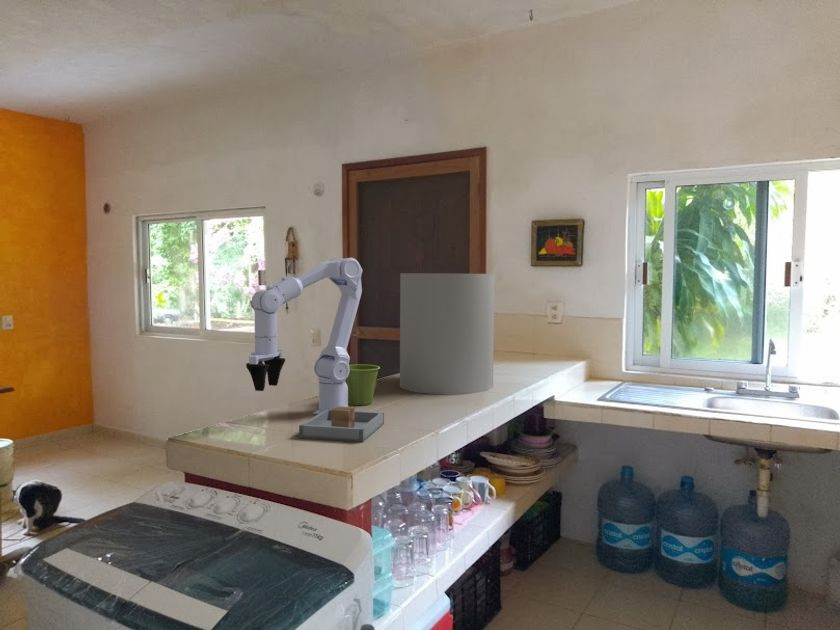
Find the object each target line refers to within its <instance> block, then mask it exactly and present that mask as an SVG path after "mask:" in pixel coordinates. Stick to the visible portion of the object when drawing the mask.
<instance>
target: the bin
mask: <svg viewBox="0 0 840 630" xmlns="http://www.w3.org/2000/svg"><path fill="white" fill-rule="evenodd" d="M384 424H385V412H380V411H363V410H362V411H361V410H355V426H354V427H353V428H348V427H333V426H331V410H330V409H326V410H325V411H323V412H321V413H320V414H315V416H312V418H310V419H308V420H306V421H303V423H301V424H299V426H298V428H299V429H298V431H299V432H298V437H299V439H310V440H312V439H315V440H328V441H341V442H353V443H354V442H355V443H363V442H365V441H366V440H367V439H369V438H370V437H371V436H372V435H373V434H374V433H376V432H377V431H379V429H380V428H381V427H382V426H383V425H384Z"/></svg>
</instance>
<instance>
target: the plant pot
mask: <svg viewBox="0 0 840 630" xmlns="http://www.w3.org/2000/svg"><path fill="white" fill-rule="evenodd" d="M349 369H350V371H349V375H348V377H347V378H346V379H345V383H346V384H347V386H348V405H352V406H359V405H363V406H368V405H371V404H372V402H373V399H374V393H375V391H374V388H375V382H376V377H378V373H379V370H380V369H381V367H380V366H379V365H374V364H364V363H363V364H361V363H360V364H349Z"/></svg>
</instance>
